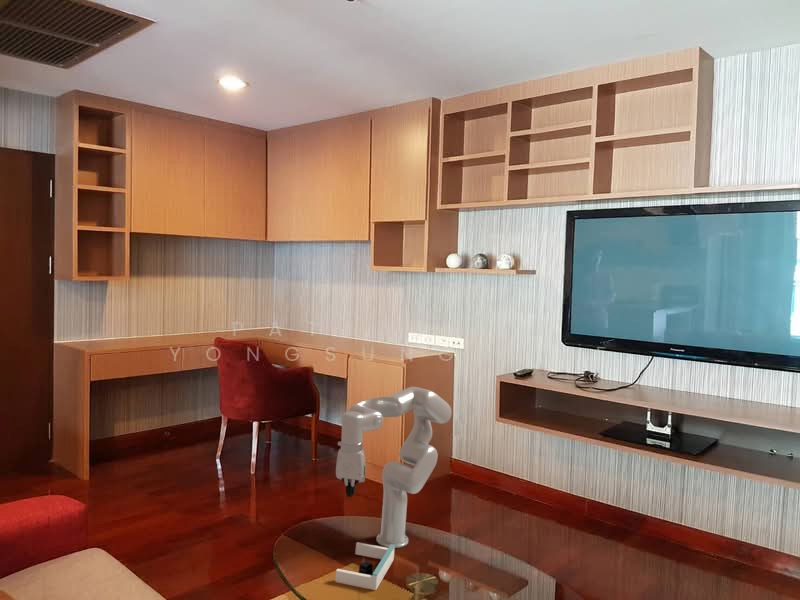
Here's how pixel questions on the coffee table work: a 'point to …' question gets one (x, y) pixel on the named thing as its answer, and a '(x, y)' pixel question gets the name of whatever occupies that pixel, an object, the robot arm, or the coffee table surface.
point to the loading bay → (378, 574)
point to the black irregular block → (366, 568)
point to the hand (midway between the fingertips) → (350, 495)
